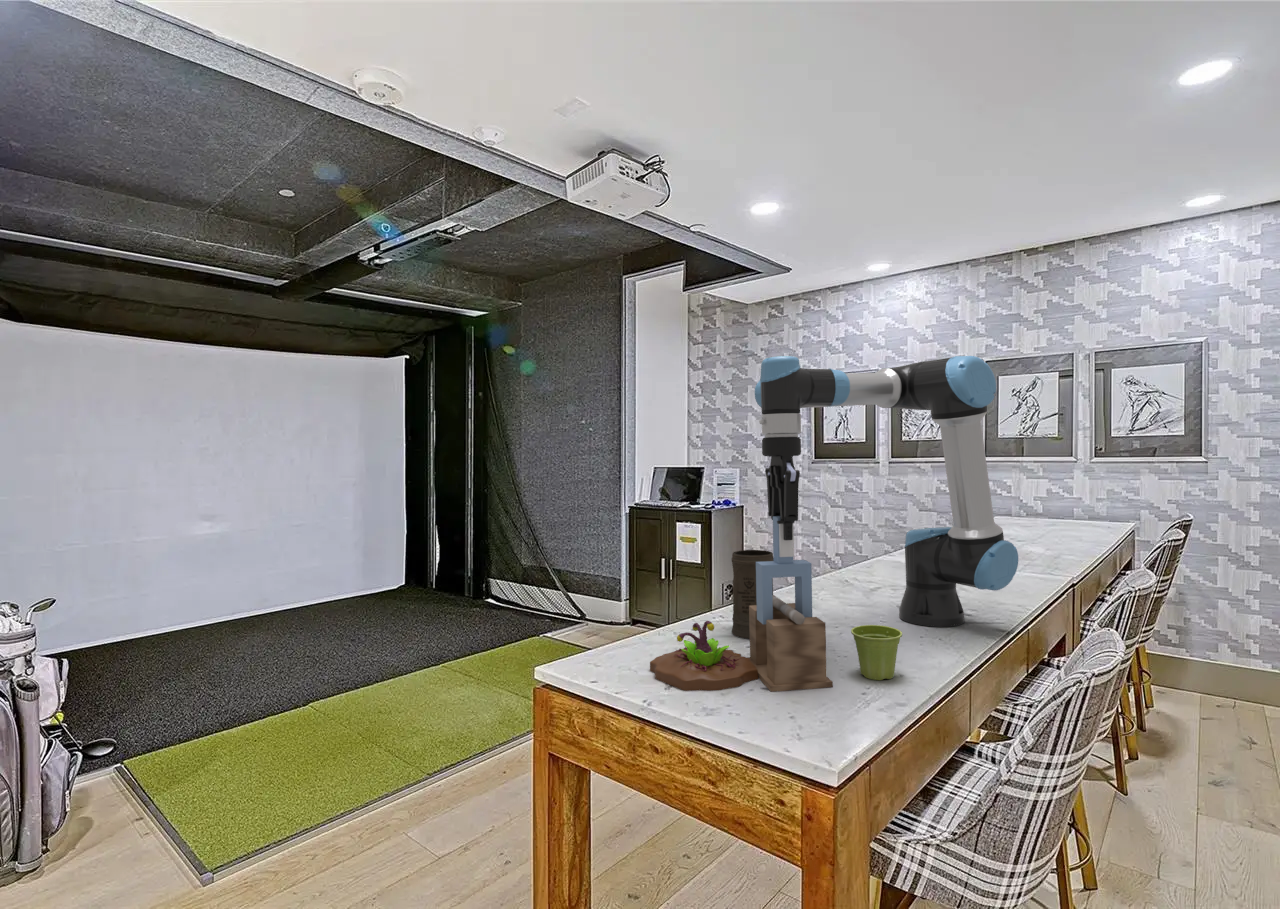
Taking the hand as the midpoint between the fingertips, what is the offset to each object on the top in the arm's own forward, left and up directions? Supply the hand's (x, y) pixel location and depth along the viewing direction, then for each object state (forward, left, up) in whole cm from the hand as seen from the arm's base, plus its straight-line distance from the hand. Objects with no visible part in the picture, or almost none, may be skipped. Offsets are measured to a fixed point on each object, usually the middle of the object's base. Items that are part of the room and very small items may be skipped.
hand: (783, 554), depth 135 cm
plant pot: (-17, +4, -24) cm, 30 cm away
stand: (0, 0, -24) cm, 24 cm away
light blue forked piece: (0, 0, -13) cm, 13 cm away
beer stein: (-3, -31, -24) cm, 39 cm away
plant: (+16, -4, -24) cm, 29 cm away
